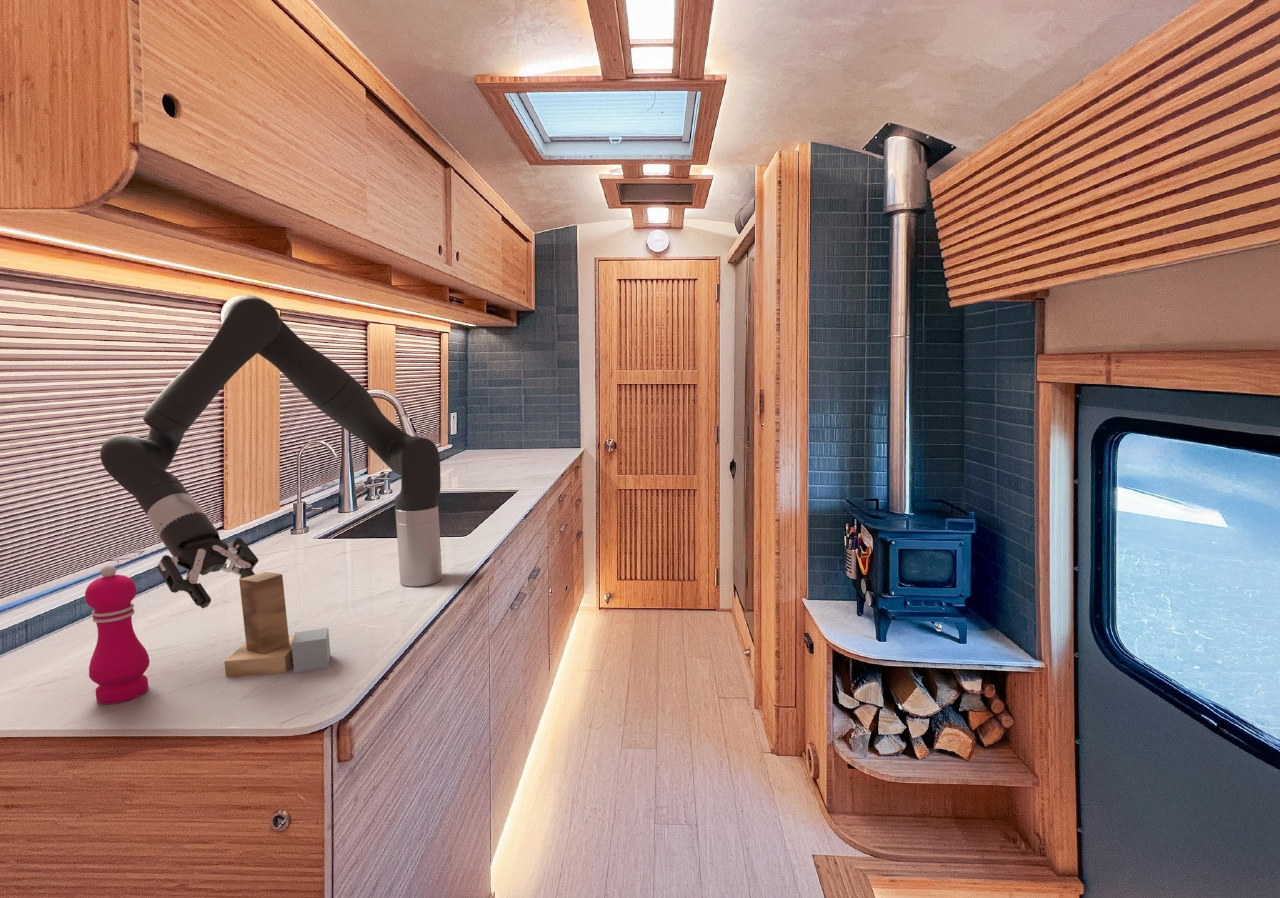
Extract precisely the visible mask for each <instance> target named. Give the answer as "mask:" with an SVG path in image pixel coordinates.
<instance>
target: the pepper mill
mask: <svg viewBox="0 0 1280 898" xmlns="http://www.w3.org/2000/svg"><path fill="white" fill-rule="evenodd" d="M116 573H117V569H116V567H114V565H105V566H103V567H102V568H101V570H100V574H101V577H98V578H96V579H95V580H93V581H91V582H90V584H89V583H88V586H87V587H86V590H85V593H84V599H85V603H86V604H87V605H88V607H90V608H92V611H91V615H92V619H91V620H92V622H93V623H96V628H97V639H96V645H95V648H94V650H93V653H92V656H91V658H90V662H89V664H88V665H89V666H88V678H89V679H90V680H91V681H92V682H93V683H94V684H97V685H98V686H97V687H96V688H95V698H96V701H97V703H99V704H102V703H103V704H105V705H106V704H107V705H111V704H118V702H119V703H123V702H126V700H127V701H130V700H133V699H135V698H137V697H139V696H142V695H143V694H145V693H146V692H147V691H148V689H149V681H148V676H147V675H145V672H147V670H148V668H149V666H150V658H149V654H148V652H147V650H146V648H145V647H144V645H143V644H142V642H141V641H140V640H139V639H138V637H137V635H136V633H135V630H134V627H133V620H132V618H133V617H132V616H133V615H134V614H135V609H134V607H135V605H134V604H133V602H132V601H133V600H134V599H135V597H136V594H137V586H136V584H135V582H134V580H133V579H132V578H131V577H129V576H126V575H123V574H116Z"/></svg>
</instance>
